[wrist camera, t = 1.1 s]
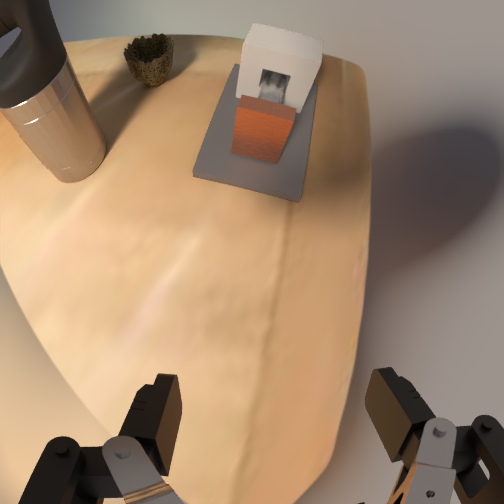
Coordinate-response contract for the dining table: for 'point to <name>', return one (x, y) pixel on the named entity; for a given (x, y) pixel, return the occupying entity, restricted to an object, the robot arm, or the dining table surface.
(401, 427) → the robot arm
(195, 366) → the dining table surface
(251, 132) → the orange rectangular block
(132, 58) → the cup
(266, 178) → the peg hole fixture
